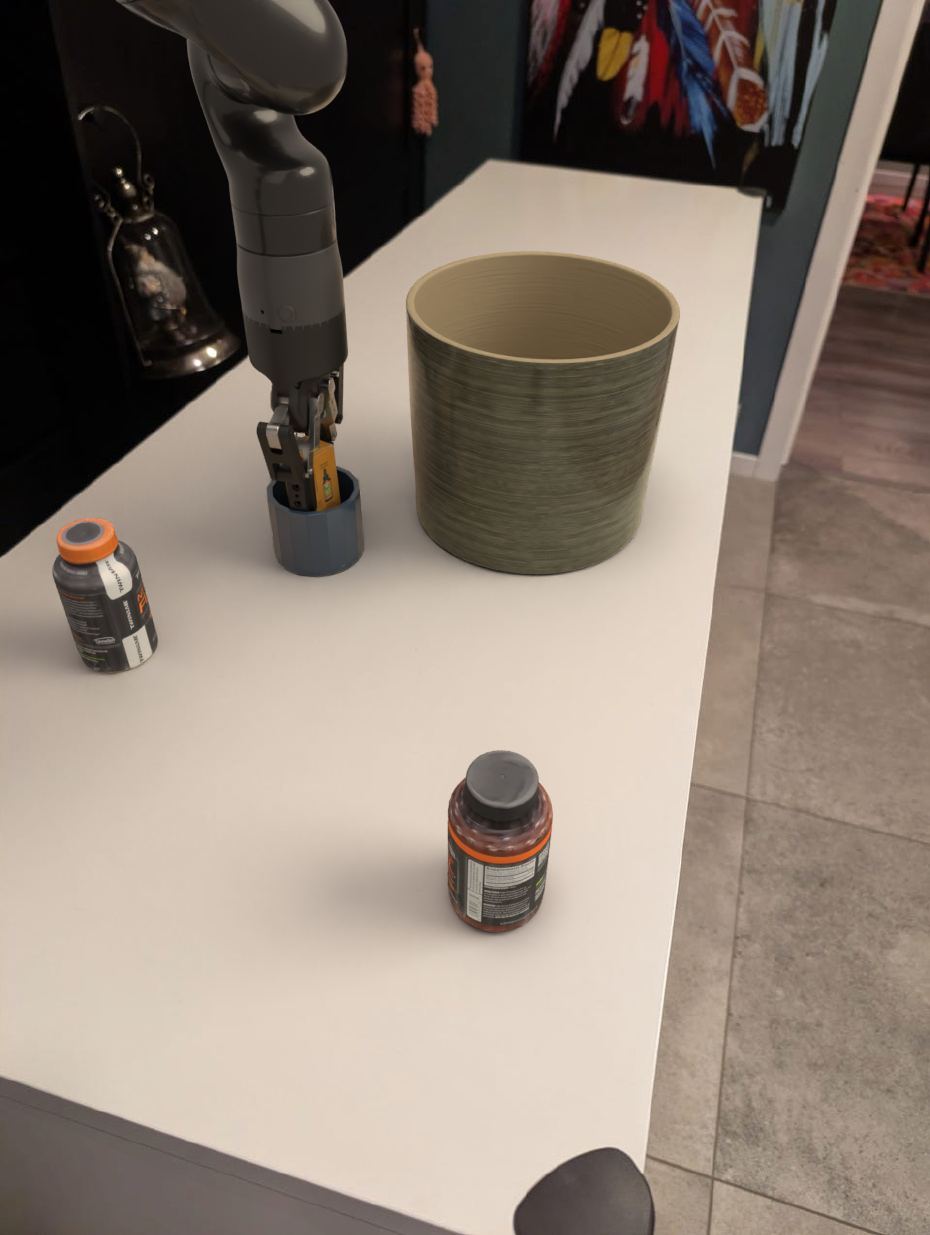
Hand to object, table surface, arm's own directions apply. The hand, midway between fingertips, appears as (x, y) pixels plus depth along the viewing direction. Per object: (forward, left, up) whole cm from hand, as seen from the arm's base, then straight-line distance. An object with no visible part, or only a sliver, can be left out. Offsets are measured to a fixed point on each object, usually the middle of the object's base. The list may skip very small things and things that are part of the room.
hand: (313, 494), depth 82 cm
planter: (+17, +11, -6) cm, 21 cm away
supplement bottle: (+22, -31, -6) cm, 38 cm away
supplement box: (0, 0, -6) cm, 6 cm away
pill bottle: (-11, -16, -6) cm, 20 cm away
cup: (0, 0, -6) cm, 6 cm away
